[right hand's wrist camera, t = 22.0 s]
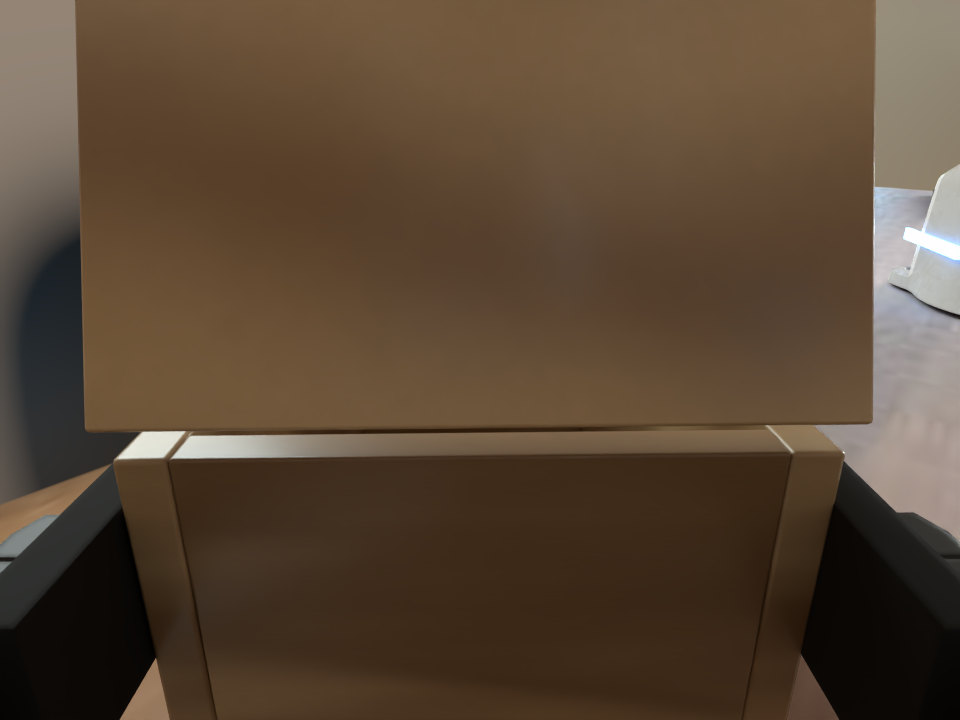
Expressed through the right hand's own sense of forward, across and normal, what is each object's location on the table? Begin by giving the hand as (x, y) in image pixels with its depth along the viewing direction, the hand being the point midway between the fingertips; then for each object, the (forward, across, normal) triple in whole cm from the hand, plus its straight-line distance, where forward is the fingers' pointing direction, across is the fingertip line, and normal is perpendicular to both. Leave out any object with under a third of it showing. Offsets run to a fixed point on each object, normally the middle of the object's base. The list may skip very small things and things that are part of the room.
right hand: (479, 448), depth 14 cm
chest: (+4, 0, +6) cm, 7 cm away
